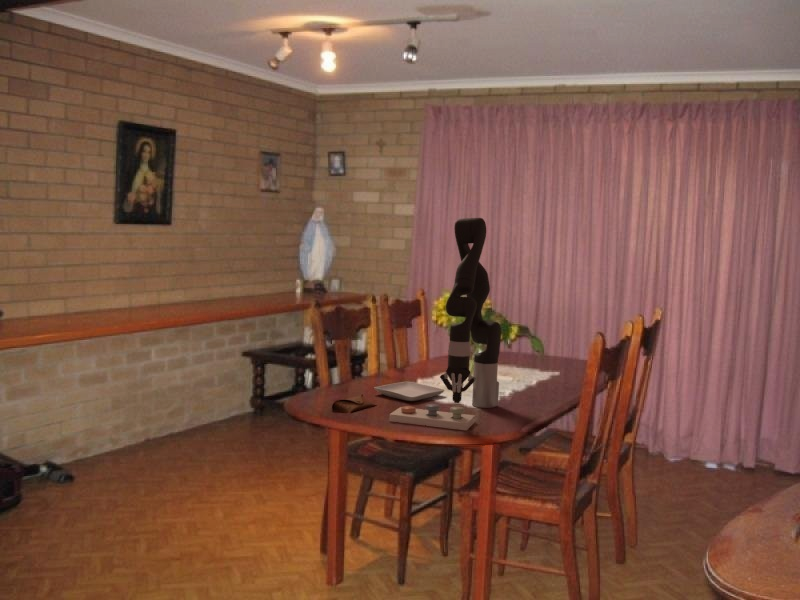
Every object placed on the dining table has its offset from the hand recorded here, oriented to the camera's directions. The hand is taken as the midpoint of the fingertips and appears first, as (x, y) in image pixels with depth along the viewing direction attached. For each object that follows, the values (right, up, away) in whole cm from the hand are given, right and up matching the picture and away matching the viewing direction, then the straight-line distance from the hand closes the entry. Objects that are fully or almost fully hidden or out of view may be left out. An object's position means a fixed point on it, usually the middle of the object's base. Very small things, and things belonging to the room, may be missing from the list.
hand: (456, 402), depth 275 cm
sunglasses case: (-37, -5, +21) cm, 43 cm away
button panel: (-8, -7, +4) cm, 12 cm away
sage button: (0, -6, +1) cm, 6 cm away
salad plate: (-16, -4, +44) cm, 47 cm away
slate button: (-8, -5, +4) cm, 11 cm away
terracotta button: (-17, -7, +7) cm, 19 cm away
